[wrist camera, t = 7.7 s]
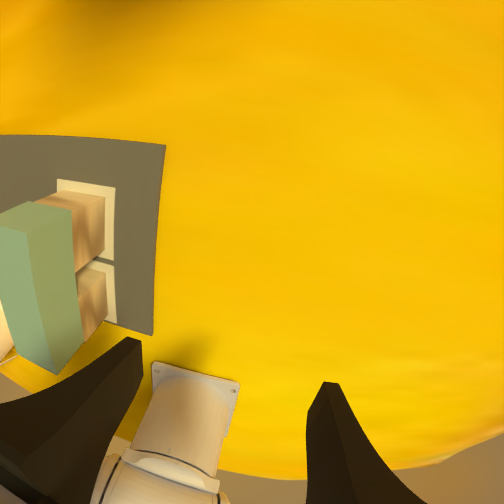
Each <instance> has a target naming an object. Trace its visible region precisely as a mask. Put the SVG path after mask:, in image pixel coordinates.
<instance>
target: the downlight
mask: <svg viewBox="0 0 504 504" xmlns="http://www.w3.org/2000/svg"><path fill="white" fill-rule="evenodd" d="M13 346H14V343H13V340H12V337H11V334H10V331H9V328H8V325H7V321H6V318H5V315H4V311H3V308H2V304H1V300H0V362H1V360H2V359H3V358H4V357H5V356H6V354H7V353H8V352H9V351H10V350H11V349H12V347H13ZM17 355H18V354H17ZM17 355H16V356H17ZM16 356H14V357H12V358H10V359H8V360H7V361H5V362H3V363H1V364H0V366H1V365H3V364H5V363H6V362H8V361H10V360H12V359H14V358H16Z"/></svg>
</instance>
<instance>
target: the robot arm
mask: <svg viewBox="0 0 504 504" xmlns="http://www.w3.org/2000/svg"><path fill="white" fill-rule="evenodd" d="M142 377H143V362H142V344H141V341H140V340H137V339H134V338H131V337H126V338H124V339H123V340H122V341H120V342H119V343H118V344H116V345H115V346H114V347H112V348H111V349H110V350H108V351H107V352H106V353H104V354H103V355H102V356H100V357H99V358H97V359H96V360H95V361H93V362H92V363H90V364H89V365H87V366H86V367H84V368H83V369H81V370H80V371H78V372H76V373H75V374H73V375H72V376H70V377H68V378H66V379H65V380H63V381H61V382H59V383H57V384H55V385H53V386H51V387H49V388H47V389H44V390H42V391H40V392H37V393H35V394H32V395H30V396H27V397H23V398H20V399H17V400H14V401H10V402H6V403H1V404H0V504H230V502H229V500H228V499H227V496H226V495H225V493H223V492H220V491H218V489H219V484H220V481H219V480H216V479H215V475H216V470H217V466H218V461H219V456H220V452H221V447H222V443H223V438H224V437H226V436H227V433H228V430H229V426H230V422H231V419H232V415H233V411H234V407H235V404H236V400H237V396H238V392H239V389H240V384H239V383H238V382H236V381H231V380H227V379H222V378H218V377H214V376H210V375H206V374H202V373H198V372H194V371H190V370H186V369H182V368H179V367H175V366H172V365H168V364H165V363H161V362H158V361H154V362H153V364H152V384H153V397H152V399H151V401H150V403H149V405H148V408H147V410H146V412H145V414H144V416H143V419H142V421H141V423H140V425H139V428H138V430H137V432H136V434H135V437H134V439H133V441H132V443H131V446H130V448H128V447H127V448H126V449H125V451H124V453H123V456H122V458H121V456H120V455H117V454H112V455H111V456H107V457H105V454H106V451H107V449H108V446H109V444H110V441H111V439H112V437H113V435H114V433H115V432H116V430H117V428H118V426H119V424H120V422H121V421H122V419H123V417H124V415H125V413H126V412H127V410H128V408H129V406H130V404H131V403H132V401H133V399H134V397H135V395H136V393H137V390H138V388H139V385H140V383H141V380H142ZM232 389H234V390H232ZM306 452H307V478H308V482H307V483H308V484H307V485H308V486H307V497H306V504H427V503H425V502H424V501H423V500H421V499H420V498H419V497H418V496H416V495H415V494H414V493H413V492H412V491H411V490H409V489H408V488H407V487H406V486H405V485H404V484H403V483H402V482H401V481H400V480H399V478H398V477H397V476H396V475H395V474H394V473H393V472H392V471H391V470H390V469H389V467H388V466H387V465H386V464H385V462H384V461H383V460H382V459H381V457H380V456H379V455H378V453H377V452H376V450H375V449H374V447H373V446H372V444H371V443H370V441H369V440H368V438H367V436H366V435H365V433H364V431H363V430H362V428H361V426H360V424H359V422H358V421H357V419H356V417H355V415H354V413H353V411H352V409H351V407H350V406H349V404H348V402H347V400H346V397H345V395H344V393H343V391H342V389H341V387H340V385H339V384H338V383H331V382H323V384H322V386H321V388H320V390H319V392H318V393H317V395H316V397H315V399H314V401H313V403H312V405H311V407H310V408H309V410H308V413H307V424H306ZM104 457H105V458H104Z"/></svg>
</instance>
